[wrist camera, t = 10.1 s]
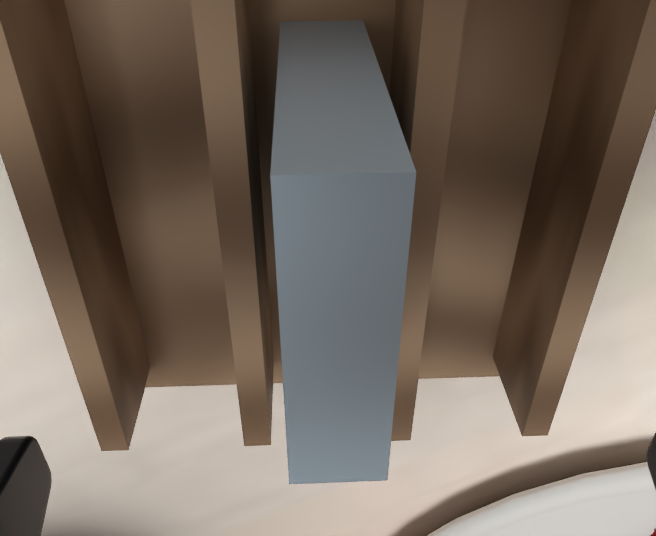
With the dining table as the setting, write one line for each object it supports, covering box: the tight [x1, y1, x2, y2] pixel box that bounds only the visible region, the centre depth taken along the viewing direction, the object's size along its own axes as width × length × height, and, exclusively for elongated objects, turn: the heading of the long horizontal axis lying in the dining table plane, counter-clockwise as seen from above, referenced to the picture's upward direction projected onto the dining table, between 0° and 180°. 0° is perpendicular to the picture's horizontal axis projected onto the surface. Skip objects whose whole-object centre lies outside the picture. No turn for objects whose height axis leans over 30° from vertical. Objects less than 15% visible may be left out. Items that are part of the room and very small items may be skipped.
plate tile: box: [270, 20, 416, 484], centre depth 14 cm, size 7×2×8 cm, turn 0°
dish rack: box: [0, 0, 656, 451], centre depth 16 cm, size 18×15×4 cm
